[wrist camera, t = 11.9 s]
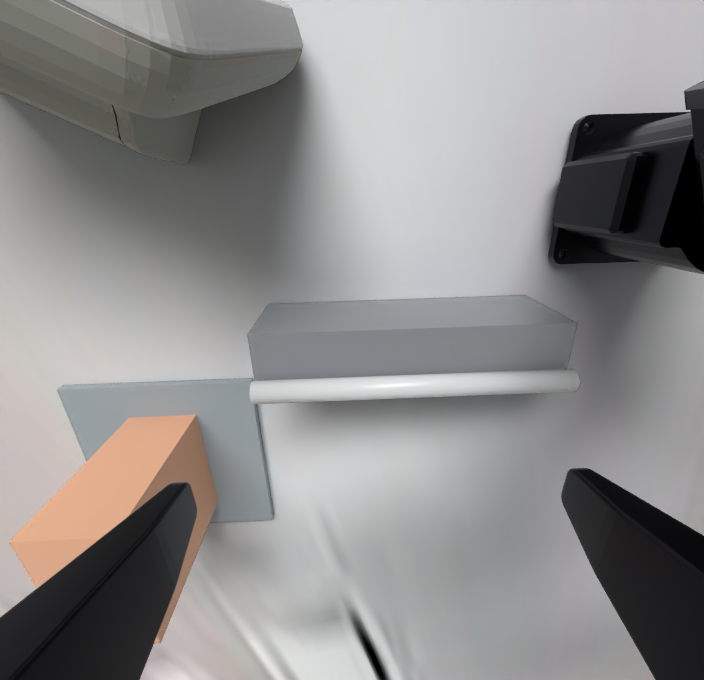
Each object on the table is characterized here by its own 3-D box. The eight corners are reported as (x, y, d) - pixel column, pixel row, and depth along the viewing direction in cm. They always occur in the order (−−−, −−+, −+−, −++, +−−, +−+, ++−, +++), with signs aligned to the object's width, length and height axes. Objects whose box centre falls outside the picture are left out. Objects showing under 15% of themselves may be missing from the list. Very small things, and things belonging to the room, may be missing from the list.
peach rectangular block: (196, 414, 20) (114, 536, 13) (218, 501, 23) (160, 643, 16) (128, 417, 20) (8, 542, 13) (158, 504, 23) (73, 648, 16)
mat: (252, 378, 20) (249, 382, 20) (273, 513, 24) (272, 519, 24) (63, 385, 20) (56, 389, 20) (117, 520, 24) (113, 526, 24)
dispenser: (525, 295, 19) (593, 331, 14) (516, 345, 20) (576, 396, 15) (268, 303, 19) (241, 344, 13) (274, 354, 20) (251, 408, 15)
